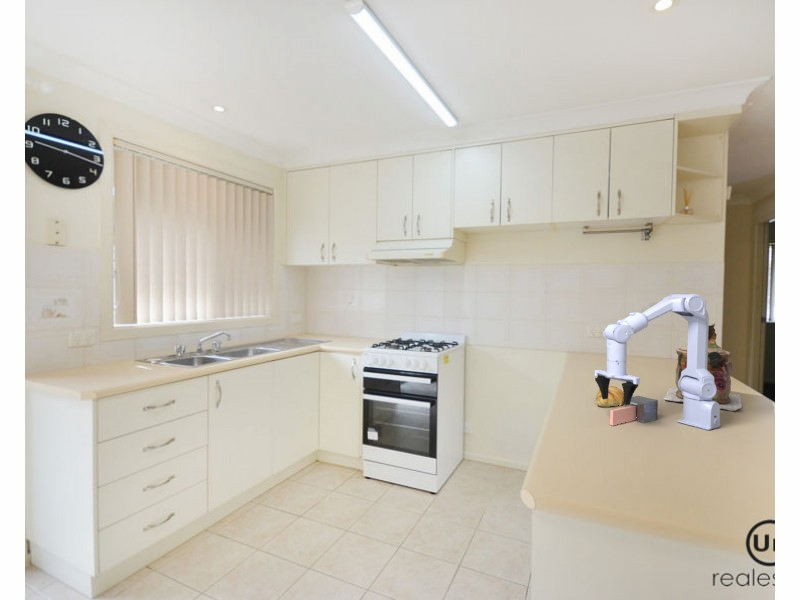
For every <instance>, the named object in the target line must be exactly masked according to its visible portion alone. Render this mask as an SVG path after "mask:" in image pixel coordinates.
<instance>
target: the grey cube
mask: <svg viewBox="0 0 800 600" xmlns="http://www.w3.org/2000/svg"><path fill="white" fill-rule="evenodd" d="M658 403H659V400H658V399H654V398H649V397H647V396H642V395H635V396H634V395H633V396H632V398H631V402H630V404H629V405H624V407H628V406H633V405H635V406H637V409H636V417H637V418H636V422H638V421H640V422H639V423H642V422H643V423H642V424H646V423H649V422H648V421H650V422H653V421H652V420H654V421H657V420H658V407H659V404H658ZM656 419H657V420H656ZM645 422H646V423H645Z"/></svg>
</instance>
